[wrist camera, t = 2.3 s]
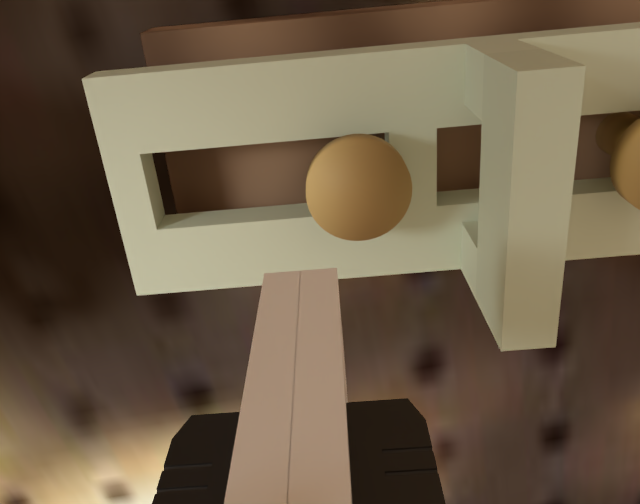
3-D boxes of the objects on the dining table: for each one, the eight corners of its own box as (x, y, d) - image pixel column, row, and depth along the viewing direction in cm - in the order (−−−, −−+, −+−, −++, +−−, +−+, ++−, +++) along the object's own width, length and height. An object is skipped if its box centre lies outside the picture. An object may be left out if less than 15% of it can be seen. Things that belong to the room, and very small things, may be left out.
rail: (199, 263, 27) (171, 340, 21) (153, 27, 22) (103, 48, 17) (787, 214, 26) (911, 281, 21) (858, -38, 22) (1040, -38, 16)
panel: (146, 277, 24) (91, 383, 18) (95, 71, 20) (6, 117, 14) (678, 233, 23) (805, 327, 17) (722, 14, 20) (899, 37, 14)
